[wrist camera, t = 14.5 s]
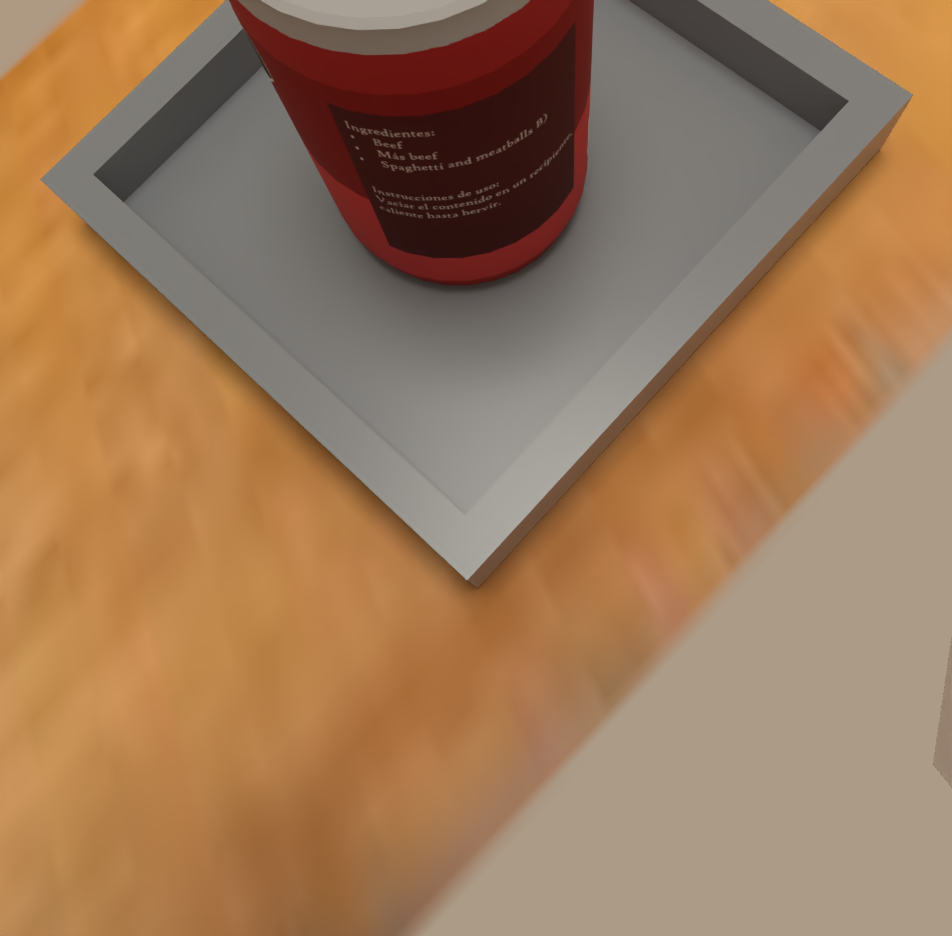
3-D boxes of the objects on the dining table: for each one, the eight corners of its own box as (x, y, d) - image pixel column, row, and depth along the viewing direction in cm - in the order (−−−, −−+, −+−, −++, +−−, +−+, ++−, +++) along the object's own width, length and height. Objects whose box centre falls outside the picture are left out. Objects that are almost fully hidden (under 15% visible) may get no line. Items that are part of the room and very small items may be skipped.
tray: (477, 588, 24) (467, 580, 22) (86, 221, 28) (40, 179, 26) (881, 148, 26) (913, 94, 23) (453, -139, 30) (443, -210, 27)
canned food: (433, 26, 27) (345, -376, 17) (640, 145, 26) (689, -219, 15) (287, 207, 27) (96, -96, 16) (490, 342, 25) (430, 105, 14)
